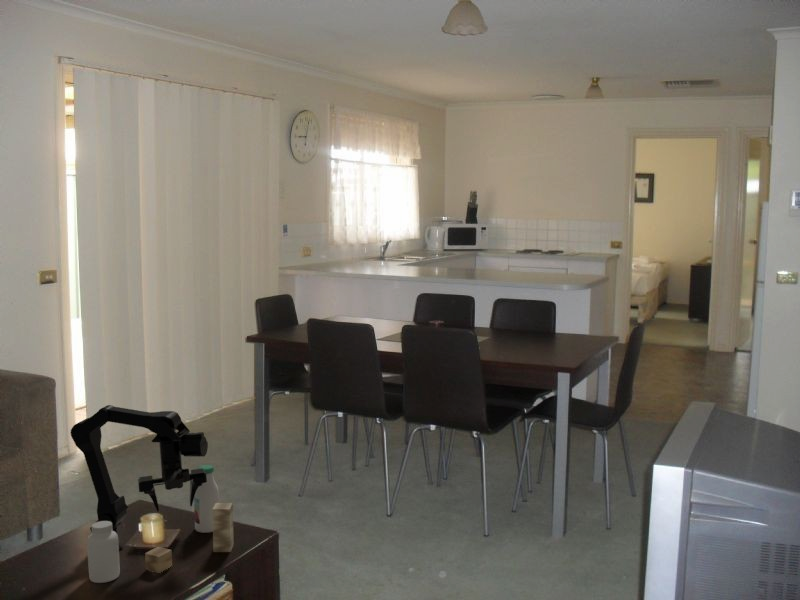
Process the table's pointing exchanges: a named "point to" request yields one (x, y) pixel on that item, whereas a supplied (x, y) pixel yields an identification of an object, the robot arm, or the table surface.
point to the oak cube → (158, 559)
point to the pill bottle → (103, 553)
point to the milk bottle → (205, 501)
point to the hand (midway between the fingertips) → (174, 508)
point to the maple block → (222, 527)
